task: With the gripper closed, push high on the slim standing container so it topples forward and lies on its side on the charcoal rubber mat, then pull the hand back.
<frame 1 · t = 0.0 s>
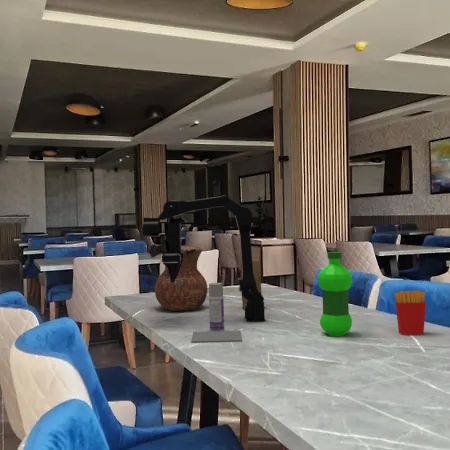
hand: (173, 280, 185), 15 cm above the table, tool pointing down, fingers open, 9 cm apart
jug: (181, 309, 212), on the table
container: (217, 330, 171), on the table
plastic bottle: (336, 334, 161), on the table
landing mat: (216, 336, 161), on the table
block: (251, 308, 209), on the table
french fries: (410, 334, 159), on the table
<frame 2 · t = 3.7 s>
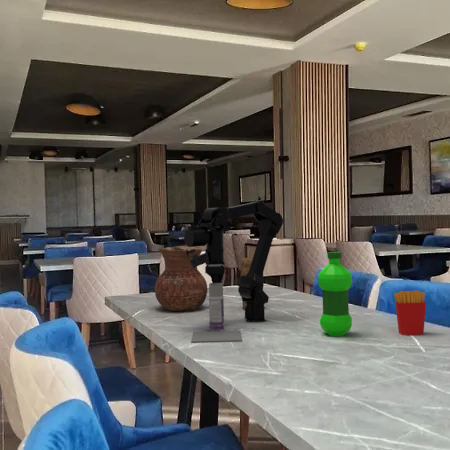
hand: (216, 292, 175), 12 cm above the table, tool pointing down, fingers closed
container: (217, 330, 171), on the table, touching gripper
everything else where it was.
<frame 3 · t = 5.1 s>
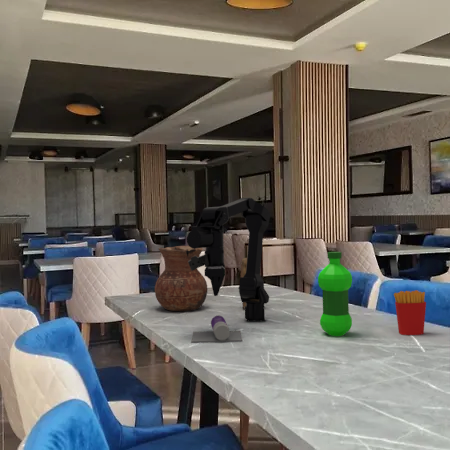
hand: (215, 295, 167), 12 cm above the table, tool pointing down, fingers closed
container: (218, 322, 169), point 3 cm above the table, touching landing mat
everything else where it was.
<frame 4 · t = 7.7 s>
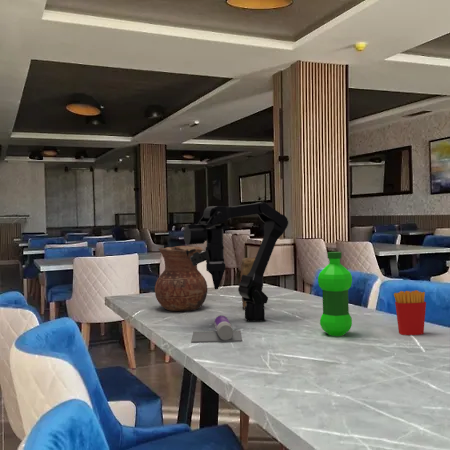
hand: (216, 289, 178), 12 cm above the table, tool pointing down, fingers closed
container: (221, 322, 169), point 3 cm above the table, touching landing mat
everything else where it was.
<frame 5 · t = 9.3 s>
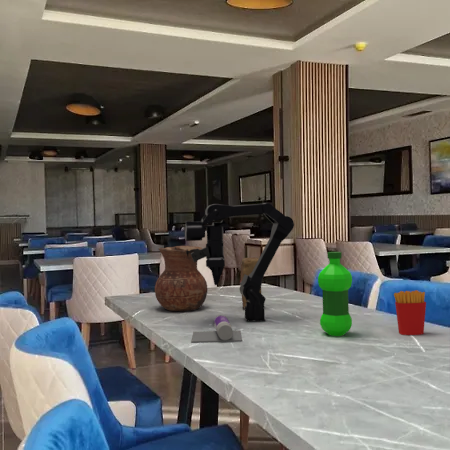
hand: (216, 284, 183), 13 cm above the table, tool pointing down, fingers closed
nothing on the table moved.
at the end: container tilted 90°; container touching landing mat; container inside the target area (7.0 cm from its centre), point 2.7 cm above the table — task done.
